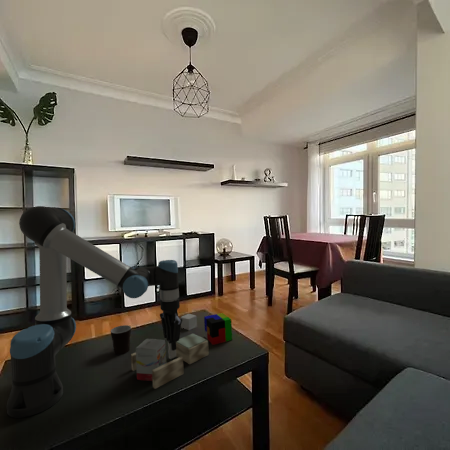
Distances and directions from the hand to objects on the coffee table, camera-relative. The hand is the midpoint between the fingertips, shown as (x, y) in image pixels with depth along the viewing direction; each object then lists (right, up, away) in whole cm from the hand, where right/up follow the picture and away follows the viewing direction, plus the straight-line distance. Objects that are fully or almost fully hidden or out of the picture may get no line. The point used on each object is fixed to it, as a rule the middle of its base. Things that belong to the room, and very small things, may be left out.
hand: (172, 357), depth 108 cm
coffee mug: (-25, -4, +14) cm, 29 cm away
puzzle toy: (+18, -2, +22) cm, 28 cm away
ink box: (-6, -4, -6) cm, 10 cm away
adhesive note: (+2, -2, +37) cm, 37 cm away
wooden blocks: (+1, -3, 0) cm, 3 cm away
